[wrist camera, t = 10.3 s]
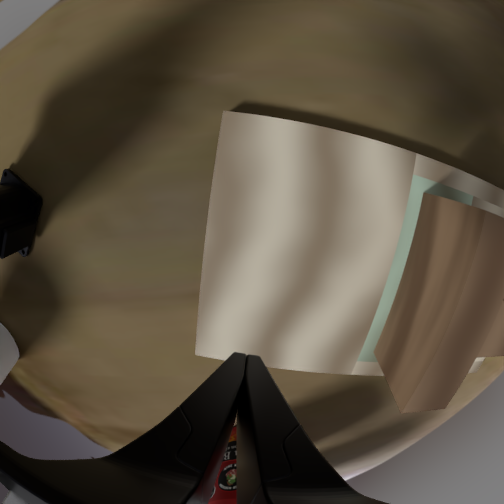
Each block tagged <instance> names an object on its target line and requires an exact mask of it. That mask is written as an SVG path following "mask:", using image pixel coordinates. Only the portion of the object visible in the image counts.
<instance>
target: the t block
mask: <svg viewBox="0 0 504 504" xmlns="http://www.w3.org/2000/svg"><path fill="white" fill-rule="evenodd" d="M373 353H374V355H375V357H376V359H377V361H378V363H379V365H380V368H381V370H382V372H383V374H384V376H385V378H386V381H387V383H388V385H389V387H390V389H391V392H392V394H393V396H394V398H395V401H396V403H397V405H398V408H399V410H400V412H401V413H410V412H421V411H430V410H438V409H445V408H446V406H447V405H448V403H449V402H450V400H451V399H452V397H453V396H454V394H455V393H456V391H457V390H458V388H459V387H460V385H461V383H462V382H463V380H464V378H465V377H466V375H467V373H468V372H469V370H470V368H471V367H472V365H473V363H474V361H475V359H476V358H480V357H495V356H504V218H503V217H501V216H498V215H496V214H493V213H491V212H489V211H486V210H483V209H480V208H477V207H474V206H470V205H467V204H464V203H461V202H457V201H454V200H450V199H447V198H443V197H440V196H436V195H432V194H429V193H425V192H423V197H422V202H421V206H420V211H419V215H418V220H417V224H416V228H415V232H414V236H413V239H412V243H411V247H410V250H409V254H408V257H407V261H406V264H405V268H404V271H403V274H402V277H401V280H400V283H399V286H398V289H397V292H396V295H395V298H394V301H393V304H392V306H391V309H390V312H389V315H388V317H387V320H386V323H385V325H384V328H383V330H382V333H381V335H380V338H379V340H378V342H377V345H376V347H375V349H374V352H373Z"/></svg>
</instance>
